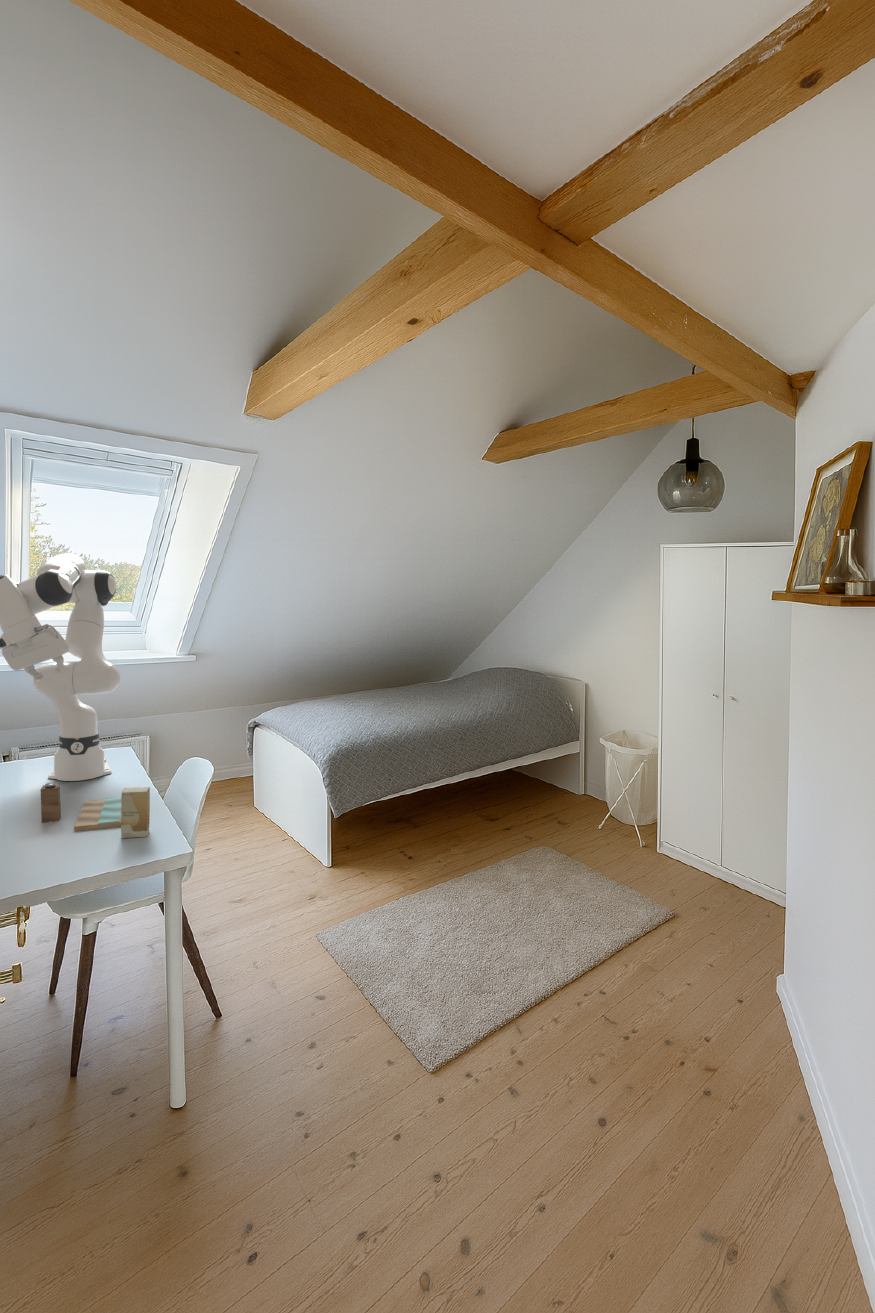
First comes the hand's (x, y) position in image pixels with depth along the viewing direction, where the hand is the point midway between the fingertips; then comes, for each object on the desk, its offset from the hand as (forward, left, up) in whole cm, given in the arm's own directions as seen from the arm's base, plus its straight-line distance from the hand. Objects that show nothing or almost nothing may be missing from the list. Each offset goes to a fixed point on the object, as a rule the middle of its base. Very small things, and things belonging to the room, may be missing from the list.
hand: (51, 675), depth 179 cm
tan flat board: (+11, +15, -39) cm, 43 cm away
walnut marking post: (+10, 0, -39) cm, 40 cm away
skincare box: (+30, +22, -39) cm, 54 cm away
